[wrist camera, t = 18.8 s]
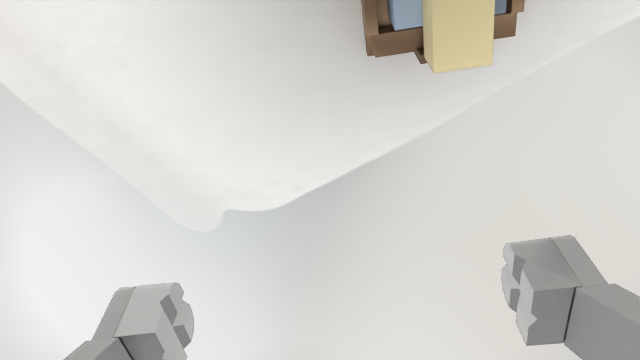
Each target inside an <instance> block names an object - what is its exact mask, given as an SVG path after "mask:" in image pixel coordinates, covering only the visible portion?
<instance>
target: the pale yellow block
mask: <svg viewBox="0 0 640 360" xmlns="http://www.w3.org/2000/svg"><path fill="white" fill-rule="evenodd" d="M422 11H423V37H424V57H425V59H426V61H427V63H428V64H429V66H430V68H431V69H432V71H433V73H440V72H447V71H453V70H460V69H467V68H473V67H480V66H486V65H492V57H493V34H494V12H495V0H422Z"/></svg>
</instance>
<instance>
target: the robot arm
mask: <svg viewBox="0 0 640 360" xmlns="http://www.w3.org/2000/svg"><path fill="white" fill-rule="evenodd" d="M503 256H504V259H505V261H506V263H507V264H506V265H505V266H504V267H503V268H502V277H501V278H502V287H503V292H504V295H505V298H506V301H507V303H508V306H509V307H510V308H511V309H512V310H514V311H516V312H517V315H516V324H517V326H518V328H519V330H520V333H521V335H522V337H523V340H524V342H525V344H526V346H530V345H543V344H557V343H565V346H566V347H568V348H569V349H570V350H572V351H573V352H574V353H575V354H576V355H577V356H579V357H580V358H581V359H582V360H640V297H639V296H637V295H636V294H634V293H632V292H630V291H628V290H626V289H624V288H622V287H620V286H619V285H617V284H608V283H607V282H606V280H605V279H604V278H603V276H602V275H601V273H600V272H599V271H598V270H597V268H596V266H595V265H594V264H593V262H592V261H591V260H590V258H589V257H588V255H587V254H586V253H585V251H584V250H583V248H582V247H581V246H580V244H579V243H578V241H577V240H576V239H575V237H573V236H571V235H566V236H558V237H550V238H544V239H536V240H528V241H520V242H513V243H506V244H505V246H504V250H503ZM183 293H184V292H183V290H182V288H181V286H180V284H179V283H164V284H153V285H142V286H137V287H124V288H119V289H118V290H117V291H116V292H115V293H114V295H113V297H112V299H111V301H110V303H109V305H108V307H107V309H106V311H105V314H104V316H103V318H102V320H101V322H100V324H99V326H98V328H97V330H96V332H95V334H94V336H93V338H92V340H91V341H85V342H84V343H83V344H82V345H80V346H79V347H78V348H77V349H76V350H74V351H73V352H72V353H71V354H70V355H69V356H67V357H66V358H65V359H64V360H186V359H187V355H186V353H185V351H184V348H185V347H186V346H187V345H188V344H189V343H190V342H191V339H192V336H193V332H194V317H193V313H192V310H191V308H190V305H189V304H188V303H186V302H185V301H183V300H182V297H183Z"/></svg>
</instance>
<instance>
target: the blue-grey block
mask: <svg viewBox="0 0 640 360" xmlns="http://www.w3.org/2000/svg"><path fill="white" fill-rule="evenodd" d="M506 2H507V0H495V12H494V15H496V14H503V13H506ZM387 6H388V17H389V19H390V21H391V23H392V25H393V27H394V29H395V30H401V29H408V28H414V27H420V26H423V11H422V0H387Z"/></svg>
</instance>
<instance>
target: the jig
mask: <svg viewBox="0 0 640 360" xmlns="http://www.w3.org/2000/svg"><path fill="white" fill-rule="evenodd" d="M362 10H363V20H364V29H365V39H366V49H367V55H368V56H373V55H375V57H382V56H388V55H395V54H401V53H408V52H415V54H416V56H417V58H418V60H419V62H420V64H424V63H427V61H426V59H425V57H424V37H423V26H420V27H414V28H408V29H401V30H395V29H394V27H393V25H392V23H391V21H390V19H389V17H388V6H387V0H362ZM523 11H524V0H507V2H506V13H503V14H496V15H494V34H493V39H498V38H505V37H511V36H515V31H516V17H517V12H523Z"/></svg>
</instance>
